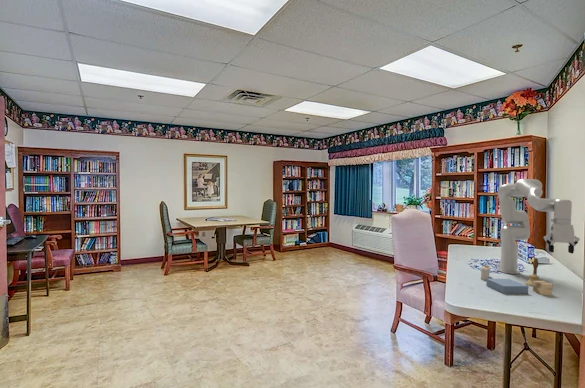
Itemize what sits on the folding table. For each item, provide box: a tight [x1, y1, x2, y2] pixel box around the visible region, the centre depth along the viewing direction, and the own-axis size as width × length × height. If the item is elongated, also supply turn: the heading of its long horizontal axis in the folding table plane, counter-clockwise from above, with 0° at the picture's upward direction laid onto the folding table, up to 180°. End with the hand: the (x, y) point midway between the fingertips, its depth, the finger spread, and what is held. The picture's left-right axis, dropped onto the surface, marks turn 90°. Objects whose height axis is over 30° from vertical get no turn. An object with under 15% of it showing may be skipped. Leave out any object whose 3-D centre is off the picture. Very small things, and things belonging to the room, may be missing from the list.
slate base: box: [486, 278, 529, 294], centre depth 183 cm, size 14×14×4 cm
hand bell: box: [525, 257, 541, 287], centre depth 193 cm, size 8×8×16 cm
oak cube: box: [532, 280, 554, 296], centre depth 178 cm, size 6×6×6 cm
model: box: [480, 264, 491, 281], centre depth 206 cm, size 3×11×8 cm, turn 143°
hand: (560, 252), depth 180 cm, fingers open, 9 cm apart
